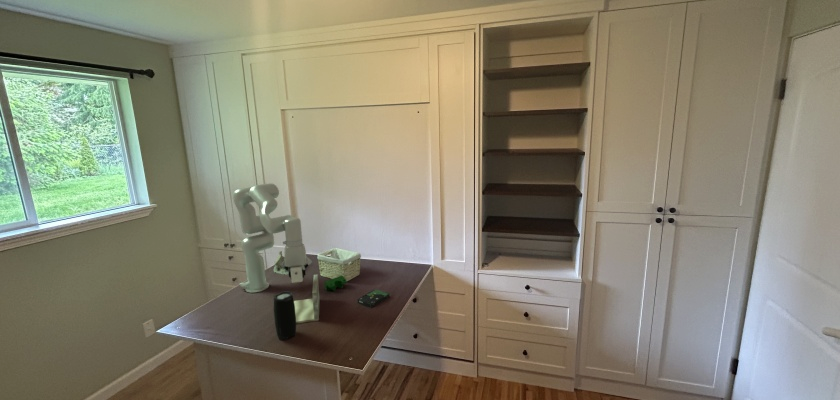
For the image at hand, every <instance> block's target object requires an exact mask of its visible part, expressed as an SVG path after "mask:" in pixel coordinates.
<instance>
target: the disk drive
mask: <svg viewBox="0 0 840 400" xmlns="http://www.w3.org/2000/svg"><path fill="white" fill-rule="evenodd" d="M390 297H391V296H390V293H389V292H386V291H384V290H383V291H382V290H379V289H378V288H377V289H374V290H372V291H370V292H367V293H366V294H364V295H362V296H360V297H359V298H357V299H356V300H357V301H356V302H357V304H360V305H363V306H364V307H366V308H369V309H372V308H374V307H376V306H377V305H379V304H380V303H381V304H382V302H384V301H386V300H387V299H389V298H390Z"/></svg>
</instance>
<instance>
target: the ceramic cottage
mask: <svg viewBox="0 0 840 400" xmlns="http://www.w3.org/2000/svg"><path fill="white" fill-rule="evenodd" d="M284 259H285V258H284V256H283V253H282V251H281V250H278V256H277V258H276V259H275V260H274V267H273V272H274V273H275V272H276V274H281V275H284V274H285V276H289V272H288V271H287V270H286V269H284V268H283V267H281V266H280V265H281V264H282V262H283V261H284ZM284 265H285V264H284Z"/></svg>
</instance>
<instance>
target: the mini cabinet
mask: <svg viewBox="0 0 840 400" xmlns="http://www.w3.org/2000/svg"><path fill="white" fill-rule="evenodd" d="M290 271H291V278H290V280H291V284H294V283H301V282H303V281H304V280H303V279H304V278H303V276H302V266H293V267H291V269H290Z"/></svg>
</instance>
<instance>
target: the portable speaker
mask: <svg viewBox="0 0 840 400" xmlns="http://www.w3.org/2000/svg"><path fill="white" fill-rule="evenodd" d="M272 299H273V317H274V326H275V331H276V336H277V339H278V340H280V341H287V340H288V339H290V338H291V337H295V336H296V334H297V324H296V314H295V305H294V301H295V300H294V296H293V293H292V292H291V291H289V290H285V291H284V290H283V291H281V292H279V293H277V294H275V295H273V298H272Z"/></svg>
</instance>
